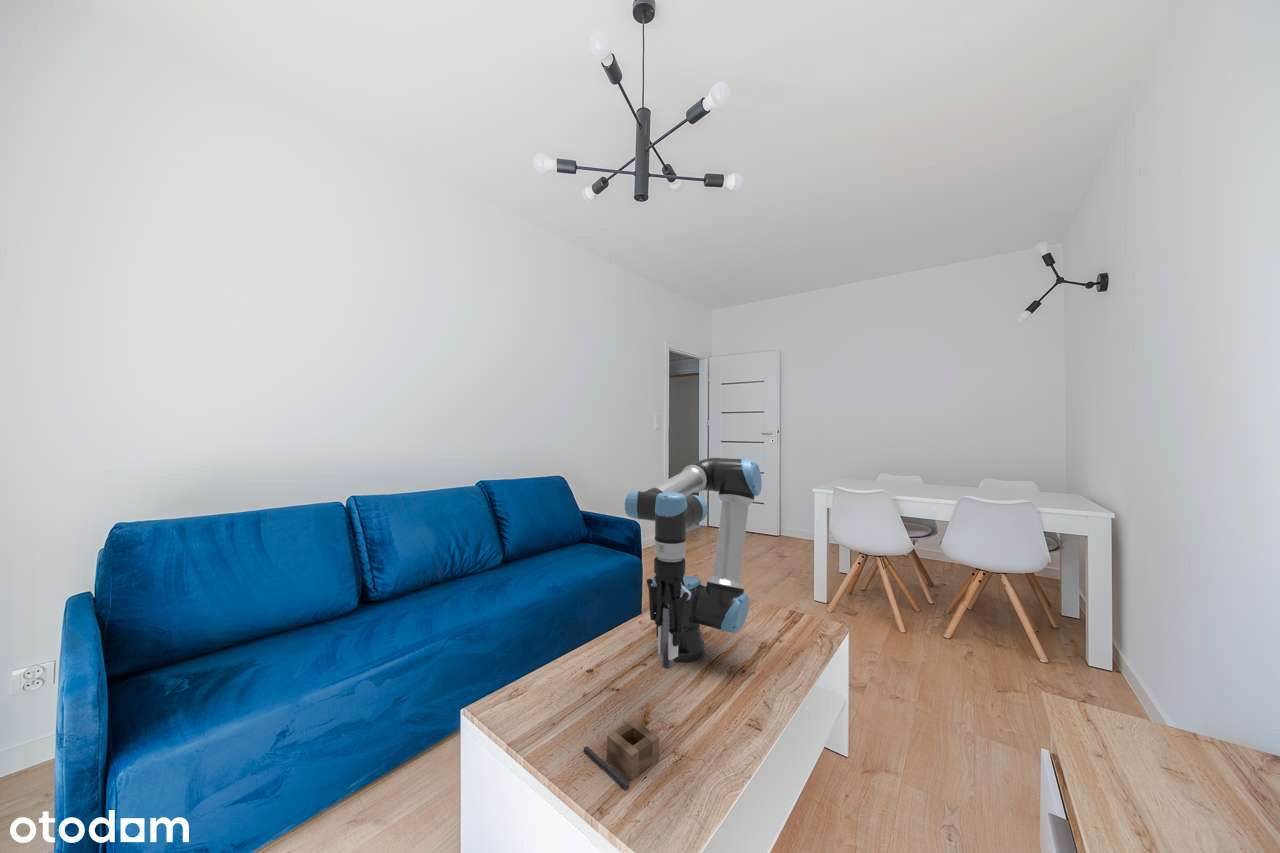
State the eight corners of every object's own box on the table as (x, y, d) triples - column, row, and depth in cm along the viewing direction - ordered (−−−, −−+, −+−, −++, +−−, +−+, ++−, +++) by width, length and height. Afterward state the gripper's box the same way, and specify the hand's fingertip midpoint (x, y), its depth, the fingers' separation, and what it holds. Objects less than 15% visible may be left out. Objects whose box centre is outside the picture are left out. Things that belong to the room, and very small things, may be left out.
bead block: (606, 758, 94) (607, 735, 94) (633, 740, 99) (634, 718, 99) (631, 780, 88) (632, 755, 88) (658, 760, 94) (659, 737, 94)
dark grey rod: (583, 751, 96) (583, 747, 96) (586, 749, 96) (586, 745, 96) (626, 790, 86) (626, 786, 86) (628, 787, 86) (629, 783, 86)
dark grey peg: (659, 665, 104) (660, 607, 104) (667, 661, 106) (668, 604, 106) (667, 670, 102) (669, 610, 102) (675, 665, 104) (676, 607, 104)
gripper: (636, 553, 108) (634, 647, 107) (684, 568, 96) (682, 674, 96) (657, 547, 113) (655, 638, 113) (705, 562, 101) (703, 662, 101)
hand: (667, 654), depth 104 cm, fingers closed on dark grey peg, 3 cm apart
